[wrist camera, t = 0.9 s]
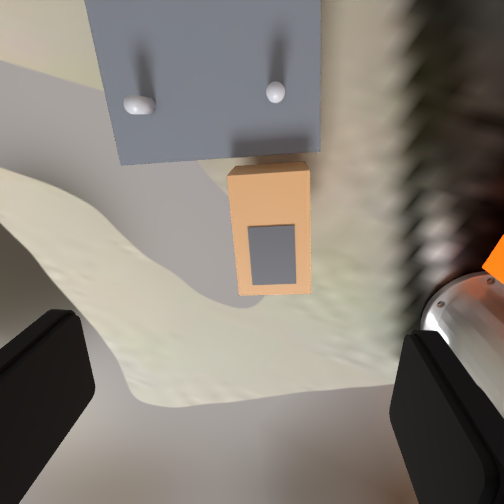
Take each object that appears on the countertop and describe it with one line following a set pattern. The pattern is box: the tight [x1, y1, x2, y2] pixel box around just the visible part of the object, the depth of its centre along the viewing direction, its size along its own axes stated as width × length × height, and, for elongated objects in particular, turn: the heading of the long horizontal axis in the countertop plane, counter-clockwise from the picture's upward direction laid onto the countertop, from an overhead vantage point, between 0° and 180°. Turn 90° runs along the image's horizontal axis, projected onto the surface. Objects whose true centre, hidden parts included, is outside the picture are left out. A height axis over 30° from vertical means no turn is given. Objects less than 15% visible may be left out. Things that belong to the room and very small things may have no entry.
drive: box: [227, 161, 311, 295], centre depth 28 cm, size 10×6×5 cm, turn 4°
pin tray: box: [84, 0, 321, 165], centre depth 22 cm, size 16×16×4 cm
